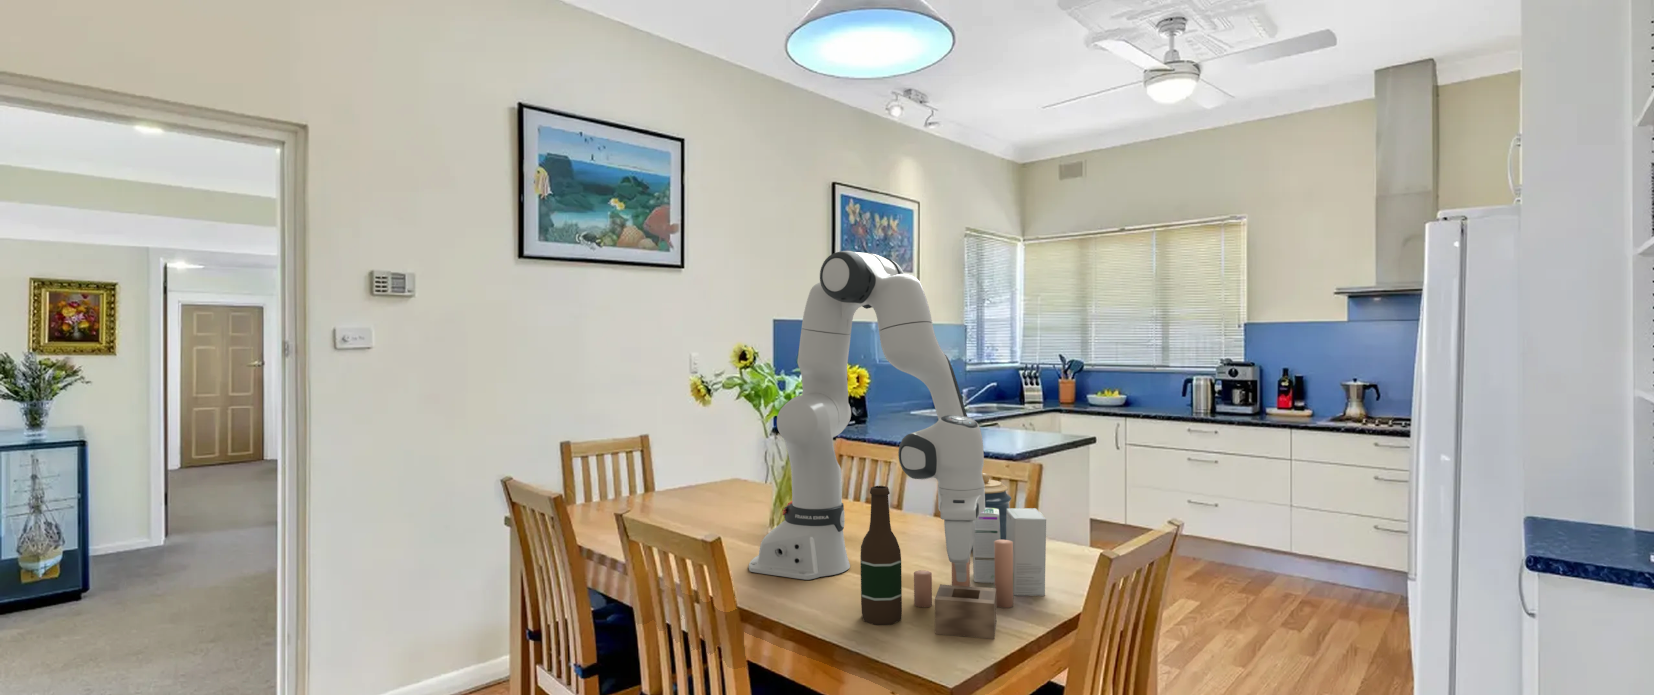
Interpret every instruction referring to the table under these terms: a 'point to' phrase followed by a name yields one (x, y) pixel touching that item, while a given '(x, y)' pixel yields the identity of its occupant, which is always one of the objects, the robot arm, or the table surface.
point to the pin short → (922, 588)
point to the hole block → (965, 611)
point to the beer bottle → (880, 565)
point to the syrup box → (985, 545)
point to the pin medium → (954, 581)
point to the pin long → (1004, 573)
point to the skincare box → (1027, 550)
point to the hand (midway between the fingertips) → (963, 573)
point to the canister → (997, 501)
